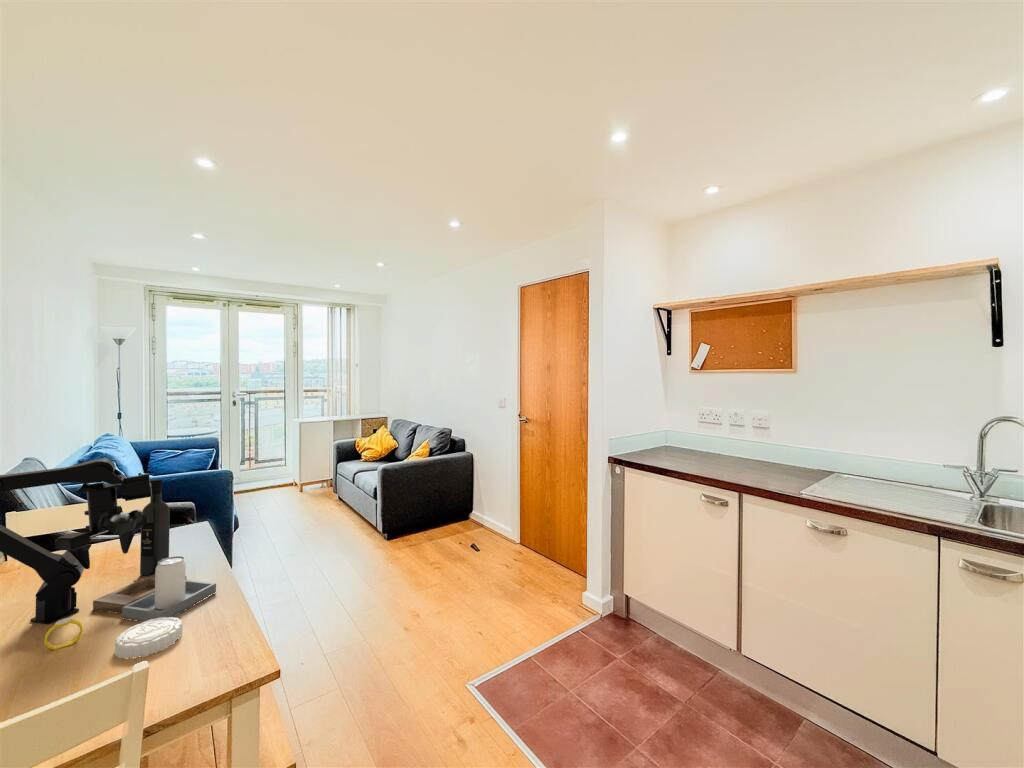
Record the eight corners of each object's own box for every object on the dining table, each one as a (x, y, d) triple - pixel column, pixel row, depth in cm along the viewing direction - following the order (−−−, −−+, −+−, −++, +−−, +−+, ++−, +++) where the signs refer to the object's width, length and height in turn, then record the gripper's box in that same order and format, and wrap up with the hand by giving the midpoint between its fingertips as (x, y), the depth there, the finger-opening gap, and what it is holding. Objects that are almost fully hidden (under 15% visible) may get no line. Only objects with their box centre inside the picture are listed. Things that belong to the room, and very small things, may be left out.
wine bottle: (155, 576, 131) (157, 481, 131) (137, 576, 131) (139, 481, 131) (170, 568, 137) (172, 477, 137) (153, 568, 137) (155, 477, 137)
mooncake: (175, 623, 106) (175, 609, 106) (188, 641, 99) (188, 626, 99) (110, 645, 97) (111, 630, 97) (119, 668, 89) (120, 651, 89)
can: (158, 613, 109) (159, 567, 109) (151, 605, 113) (152, 561, 113) (188, 603, 114) (189, 559, 114) (180, 595, 118) (181, 553, 118)
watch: (45, 655, 93) (42, 630, 93) (45, 650, 95) (43, 625, 95) (83, 642, 98) (81, 617, 97) (83, 637, 99) (81, 612, 99)
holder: (125, 614, 110) (125, 604, 110) (93, 609, 111) (93, 600, 111) (186, 584, 126) (186, 575, 126) (157, 580, 128) (157, 572, 128)
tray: (160, 624, 105) (160, 612, 105) (121, 619, 107) (122, 607, 107) (215, 593, 121) (216, 583, 121) (181, 589, 123) (181, 579, 123)
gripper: (85, 518, 103) (90, 579, 104) (161, 495, 121) (165, 547, 122) (50, 516, 105) (55, 577, 106) (130, 494, 123) (134, 545, 124)
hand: (107, 560), depth 114 cm, fingers open, 9 cm apart
